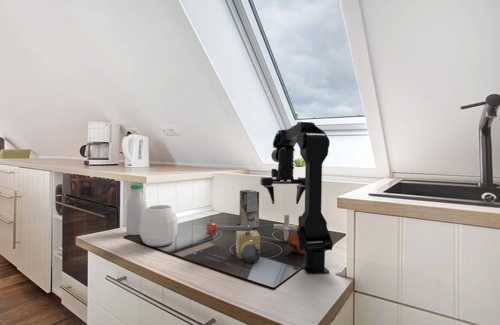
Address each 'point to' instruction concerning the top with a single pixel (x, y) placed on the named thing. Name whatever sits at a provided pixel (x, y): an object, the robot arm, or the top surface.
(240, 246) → the valve
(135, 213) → the milk bottle
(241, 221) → the coffee box
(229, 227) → the lever
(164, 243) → the white faceted vase
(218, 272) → the top surface
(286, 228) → the pipe connector
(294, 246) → the pomegranate
